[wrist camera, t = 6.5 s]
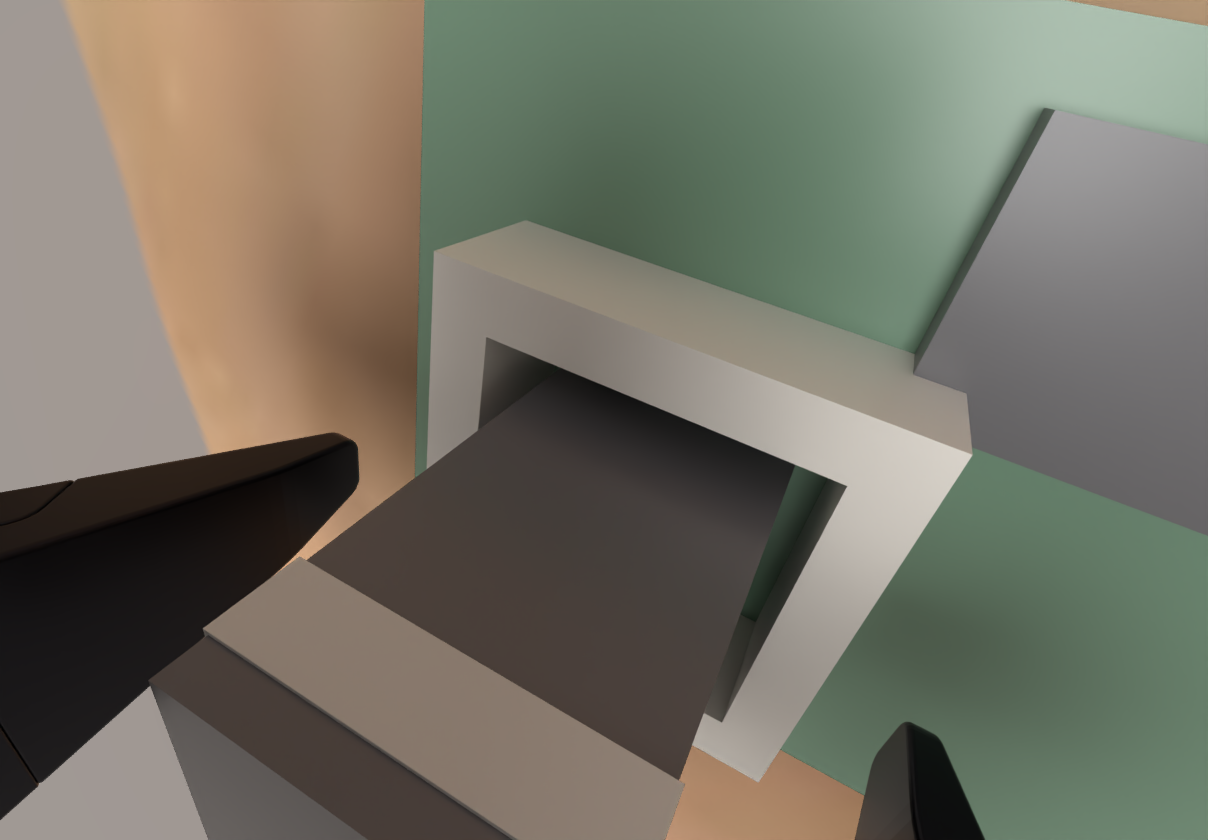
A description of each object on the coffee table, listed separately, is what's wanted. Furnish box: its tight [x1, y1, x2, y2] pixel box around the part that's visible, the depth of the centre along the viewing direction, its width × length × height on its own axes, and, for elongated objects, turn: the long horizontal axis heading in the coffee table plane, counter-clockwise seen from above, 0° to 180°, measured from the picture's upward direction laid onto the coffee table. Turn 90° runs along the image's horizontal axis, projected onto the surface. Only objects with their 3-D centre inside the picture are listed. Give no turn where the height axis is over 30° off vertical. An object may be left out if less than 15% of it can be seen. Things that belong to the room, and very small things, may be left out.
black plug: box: [148, 368, 795, 840], centre depth 9 cm, size 4×4×8 cm
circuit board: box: [415, 0, 1208, 840], centre depth 10 cm, size 20×14×4 cm
